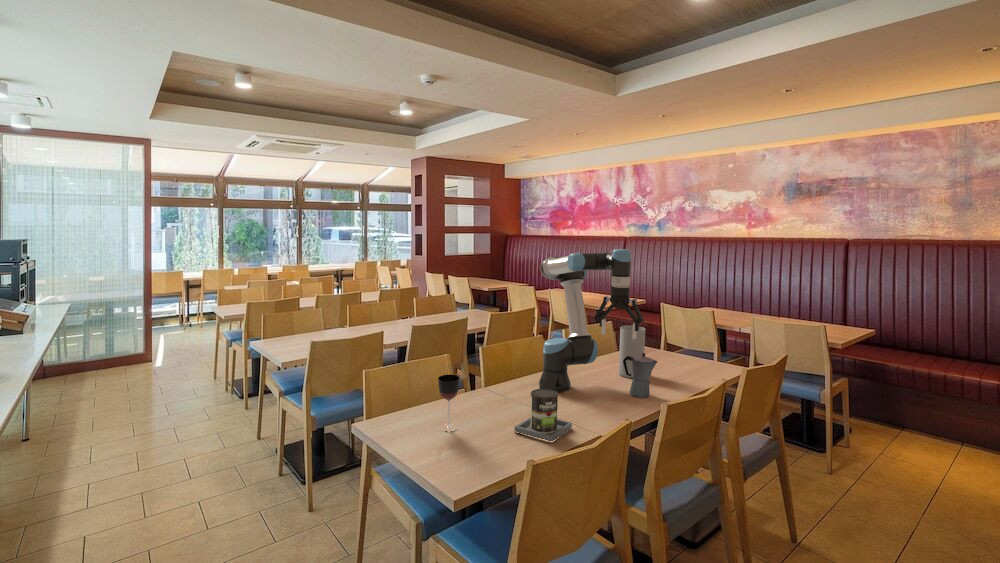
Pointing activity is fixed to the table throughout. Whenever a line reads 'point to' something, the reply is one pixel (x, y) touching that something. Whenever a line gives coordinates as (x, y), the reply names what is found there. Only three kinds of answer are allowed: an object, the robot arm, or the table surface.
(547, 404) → the coffee can
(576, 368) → the table surface
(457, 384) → the wineglass
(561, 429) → the slate tray
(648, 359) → the moka pot
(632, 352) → the cylinder vase
